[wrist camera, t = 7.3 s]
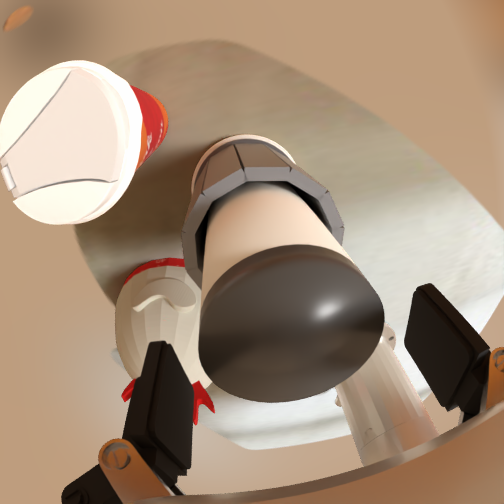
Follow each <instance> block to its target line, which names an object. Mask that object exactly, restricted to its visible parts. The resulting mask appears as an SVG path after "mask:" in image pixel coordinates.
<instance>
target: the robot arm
mask: <svg viewBox="0 0 504 504" xmlns="http://www.w3.org/2000/svg"><path fill="white" fill-rule="evenodd" d="M395 344H396V335H395V333H394V331H393V329H392V328H391V327H390V326H389V325H388V324H387V323H385V322H384V328H383V332H382V336H381V339H380V341H379V343H378V345H377V347H376V349H375V350H374V352H373V354H372V355H371V356H370V358H369V359H368V360H367V362H366V363H365V364H364V365H363V366H362V367H361V368H360V369H359V370H358V371H356V372H355V373H354V374H353V375H352V376H350V377H349V378H348V379H346V380H345V381H343V382H342V383H340V384H338V385H337V386H335V389H336V391H337V394H338V395H337V397H336V400H335V404H336V405H337V406H340V407H342V408H343V411H344V413H345V416H346V419H347V422H348V425H349V427H350V430H351V433H352V436H353V439H354V442H355V444H356V447H357V450H358V453H359V456H360V459H361V462H362V464H363V466H364V467H362V468H358V469H355V470H352V471H349V472H345V473H342V474H339V475H335V476H331V477H327V478H323V479H319V480H314V481H310V482H305V483H300V484H295V485H290V486H284V487H278V488H272V489H265V490H256V491H248V492H238V493H227V494H226V493H225V494H207V495H186V494H185V493H184V492H183V491H182V490H181V489H180V487H178V485H177V484H176V483H177V477H178V476H179V475H180V476H181V475H182V476H187V469H190V468H191V456H192V429H193V410H194V389H193V386H192V384H191V382H190V380H189V378H188V376H187V375H186V373H185V371H184V369H183V367H182V365H181V363H180V361H179V359H178V357H177V355H176V353H175V351H174V349H173V346H172V345H171V344H170V343H169V344H167V342H166V341H165V340H162V341H153V342H150V343H149V345H148V348H147V352H146V356H145V360H144V364H143V368H142V372H141V376H140V377H137V378H136V380H135V383H134V387H133V391H132V395H131V399H130V404H129V408H128V412H127V417H126V421H125V427H124V431H123V436H122V439H119V438H118V439H112V440H110V441H108V442H107V443H105V445H103V446H102V448H101V449H100V451H99V455H98V461H99V464H98V465H96V466H95V467H93V468H92V469H91V470H89V471H88V472H86V473H85V474H83V475H82V476H81V477H79V478H78V479H76V480H75V481H73V482H72V483H70V484H69V485H67V486H66V487H65V488H64V490H63V492H62V496H61V498H62V504H504V347H499V348H496V349H495V350H493V351H492V353H491V352H490V350H489V349H490V347H489V346H488V345H487V344H486V342H485V341H484V340H483V339H482V338H481V336H480V335H479V334H478V333H477V332H476V331H475V329H474V328H473V327H472V326H471V325H470V324H469V323H468V322H467V320H466V319H465V318H464V317H463V316H462V315H461V314H460V313H459V312H458V310H457V309H456V308H455V307H454V306H453V305H452V304H451V303H450V302H449V301H448V300H447V299H446V298H445V297H444V296H443V295H442V294H441V292H440V291H439V290H438V289H437V288H436V287H435V286H434V285H433V284H431V283H428V284H425V285H421V286H419V287H417V288H416V291H415V292H414V293H413V298H412V304H411V309H410V315H409V320H408V325H407V329H406V334H405V338H404V344H405V347H406V349H407V351H408V352H409V354H410V355H411V357H412V359H413V360H414V362H415V363H416V365H417V367H418V368H419V370H420V371H421V373H422V375H423V376H424V378H425V380H426V381H427V383H428V385H429V386H430V388H431V390H432V391H433V393H434V395H435V396H436V398H437V400H438V402H439V403H440V405H441V406H442V407H445V408H446V410H447V411H450V410H452V409H454V408H456V407H458V406H459V408H460V410H461V413H460V417H459V422H458V426H457V427H455V428H453V429H451V430H449V431H447V432H445V433H444V434H442V435H439V433H438V431H437V429H436V427H435V426H434V423H433V422H432V420H431V418H430V416H429V414H428V412H427V410H426V408H425V406H424V405H423V403H422V401H421V399H420V397H419V395H418V393H417V392H416V390H415V388H414V386H413V384H412V383H411V381H410V379H409V377H408V375H407V374H406V372H405V370H404V369H403V367H402V365H401V363H400V362H399V360H398V358H397V357H396V355H395V353H394V351H393V350H394V347H395Z"/></svg>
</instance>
